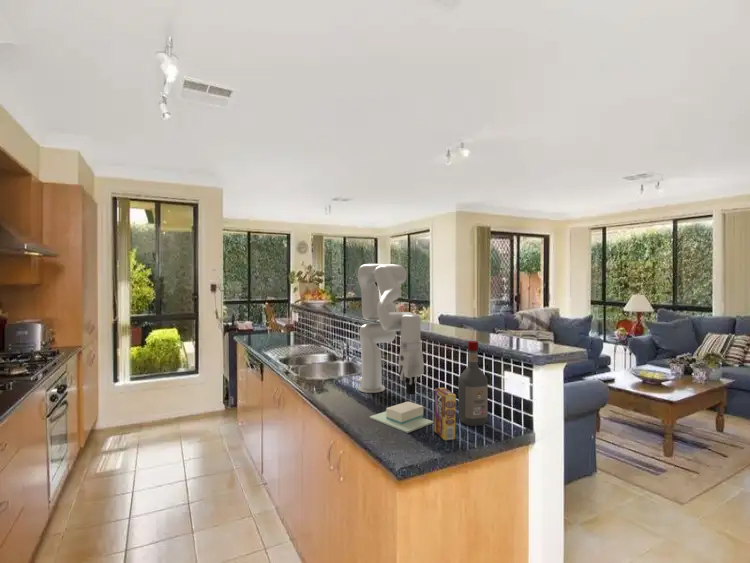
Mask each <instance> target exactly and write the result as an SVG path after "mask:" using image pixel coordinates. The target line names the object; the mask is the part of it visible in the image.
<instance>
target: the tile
mask: <svg viewBox="0 0 750 563" xmlns="http://www.w3.org/2000/svg"><path fill="white" fill-rule="evenodd" d="M385 411H386V419H389V420H391V421H394V422H397V423H399V424H404V423H407V422H409V421H412V420H415V419H418V418H421V417H422V418H424V406H423V405H421V404H418V403H415V402H411V401H405V402H401V403H398V404H395V405H392V406H388V407H386V408H385Z"/></svg>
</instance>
